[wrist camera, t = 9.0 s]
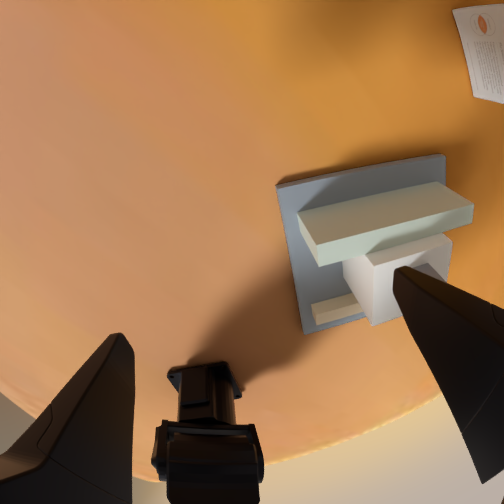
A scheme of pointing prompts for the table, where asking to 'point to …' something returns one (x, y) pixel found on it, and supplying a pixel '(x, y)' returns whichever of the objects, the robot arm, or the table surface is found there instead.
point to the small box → (483, 48)
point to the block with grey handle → (382, 269)
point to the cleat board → (360, 226)
